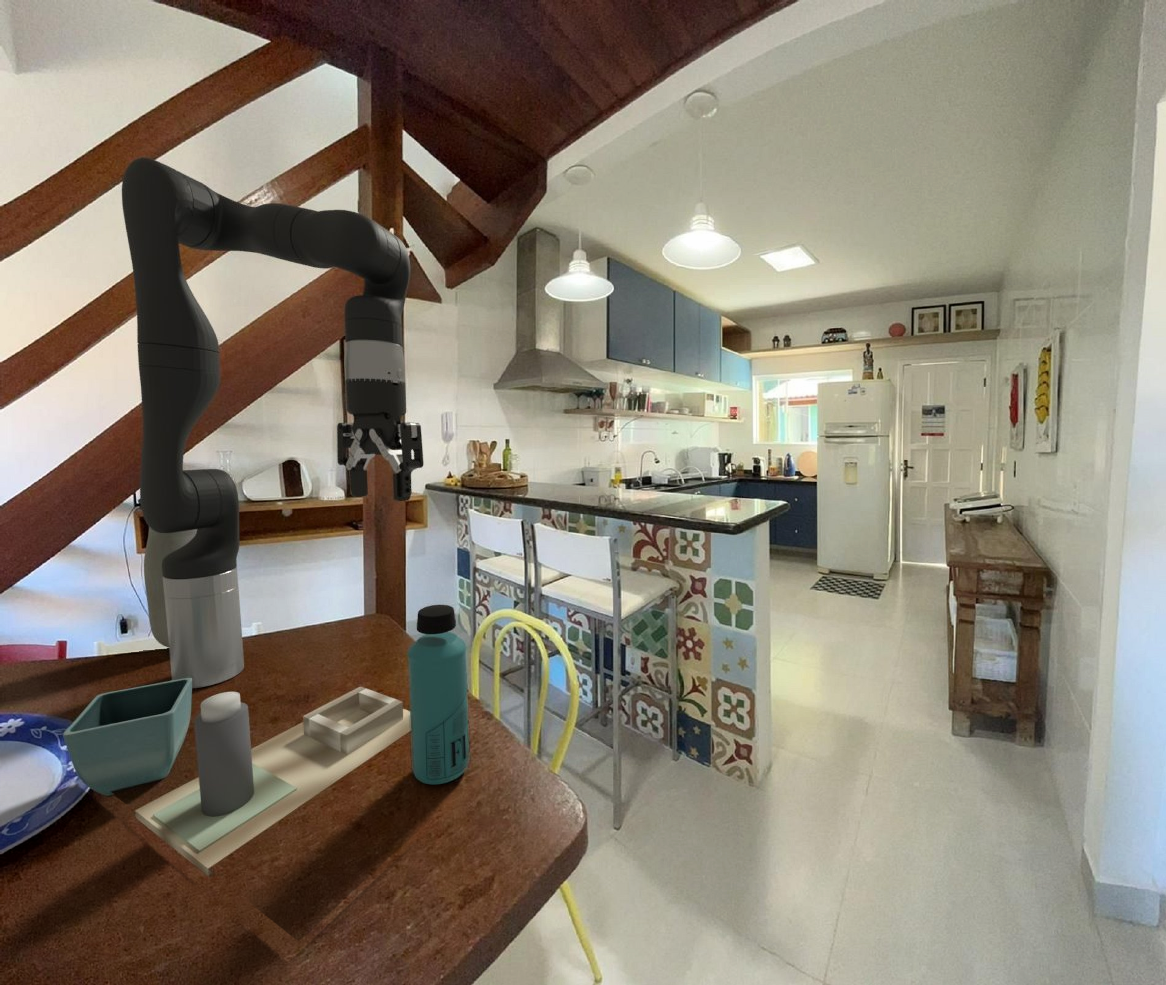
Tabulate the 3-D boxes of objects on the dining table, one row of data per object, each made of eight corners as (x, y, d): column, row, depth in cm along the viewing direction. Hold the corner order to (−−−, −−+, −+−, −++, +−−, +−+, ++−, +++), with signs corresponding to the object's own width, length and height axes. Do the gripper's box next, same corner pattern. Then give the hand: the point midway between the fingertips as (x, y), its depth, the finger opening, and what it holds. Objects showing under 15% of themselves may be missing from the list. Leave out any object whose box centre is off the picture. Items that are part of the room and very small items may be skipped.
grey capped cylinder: (192, 806, 49) (183, 704, 48) (240, 779, 53) (232, 685, 52) (215, 822, 47) (206, 717, 46) (263, 793, 51) (256, 695, 50)
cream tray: (135, 817, 49) (132, 787, 49) (359, 697, 72) (358, 676, 71) (208, 876, 42) (205, 842, 42) (428, 723, 65) (428, 700, 65)
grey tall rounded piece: (146, 646, 88) (132, 494, 85) (215, 630, 96) (204, 490, 93) (157, 663, 82) (141, 499, 79) (229, 644, 90) (218, 494, 86)
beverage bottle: (455, 803, 51) (451, 622, 49) (398, 793, 53) (392, 616, 50) (480, 763, 58) (477, 601, 55) (429, 755, 59) (424, 596, 57)
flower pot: (69, 817, 49) (59, 734, 48) (105, 765, 57) (97, 693, 56) (179, 789, 53) (172, 712, 52) (199, 744, 61) (193, 676, 60)
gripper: (316, 379, 65) (322, 498, 67) (390, 373, 59) (394, 505, 60) (364, 384, 72) (368, 492, 74) (435, 380, 65) (438, 499, 67)
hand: (380, 498), depth 67 cm, fingers open, 8 cm apart
